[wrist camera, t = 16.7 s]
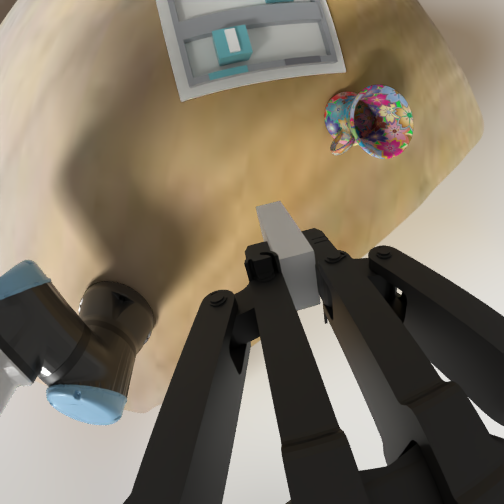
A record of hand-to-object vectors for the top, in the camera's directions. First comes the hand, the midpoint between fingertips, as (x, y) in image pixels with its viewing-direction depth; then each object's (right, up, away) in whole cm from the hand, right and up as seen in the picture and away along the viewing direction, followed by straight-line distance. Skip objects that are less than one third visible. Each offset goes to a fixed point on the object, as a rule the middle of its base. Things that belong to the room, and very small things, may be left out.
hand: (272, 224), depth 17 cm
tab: (-4, +25, +13) cm, 28 cm away
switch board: (-1, +30, +12) cm, 33 cm away
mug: (+12, +18, +20) cm, 29 cm away
